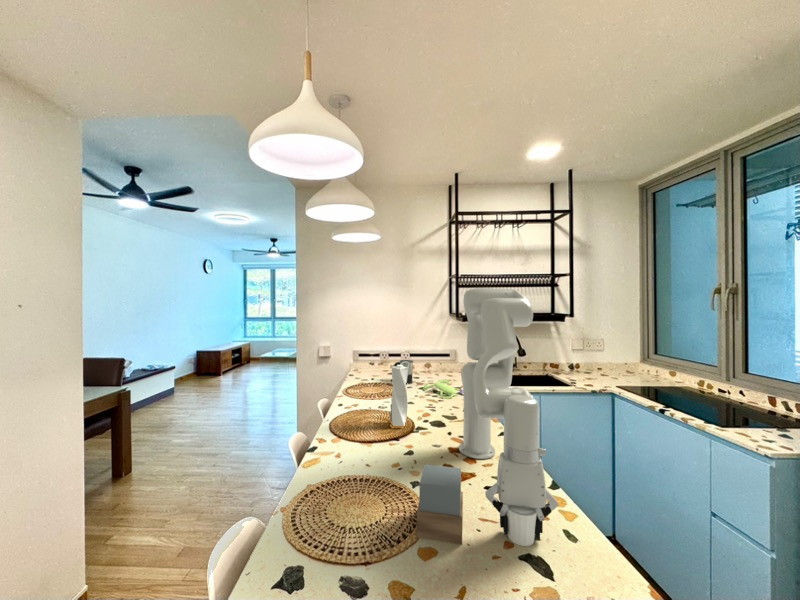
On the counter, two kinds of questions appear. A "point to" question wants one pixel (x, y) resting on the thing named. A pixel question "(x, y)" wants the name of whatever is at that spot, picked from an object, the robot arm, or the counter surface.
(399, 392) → the skyscraper
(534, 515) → the shot glass
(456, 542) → the walnut base block
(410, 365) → the milk frother
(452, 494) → the slate top block
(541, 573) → the counter surface
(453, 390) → the figurine
